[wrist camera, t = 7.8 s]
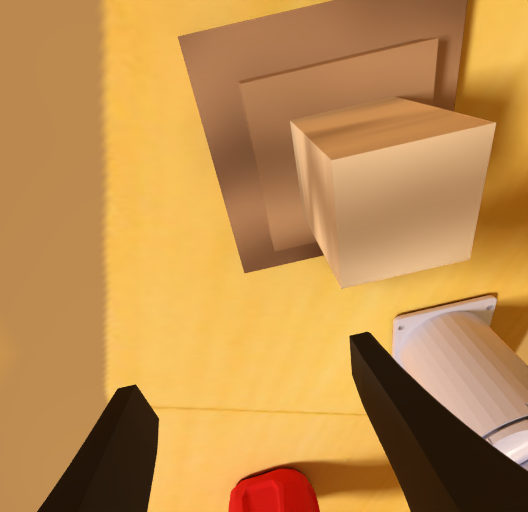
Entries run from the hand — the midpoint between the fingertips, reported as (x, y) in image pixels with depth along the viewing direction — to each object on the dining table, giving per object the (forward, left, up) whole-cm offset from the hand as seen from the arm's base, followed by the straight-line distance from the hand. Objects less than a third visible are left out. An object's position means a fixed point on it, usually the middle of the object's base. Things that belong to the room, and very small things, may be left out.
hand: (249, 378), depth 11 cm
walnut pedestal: (+4, -6, -10) cm, 13 cm away
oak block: (+4, -6, -7) cm, 10 cm away
